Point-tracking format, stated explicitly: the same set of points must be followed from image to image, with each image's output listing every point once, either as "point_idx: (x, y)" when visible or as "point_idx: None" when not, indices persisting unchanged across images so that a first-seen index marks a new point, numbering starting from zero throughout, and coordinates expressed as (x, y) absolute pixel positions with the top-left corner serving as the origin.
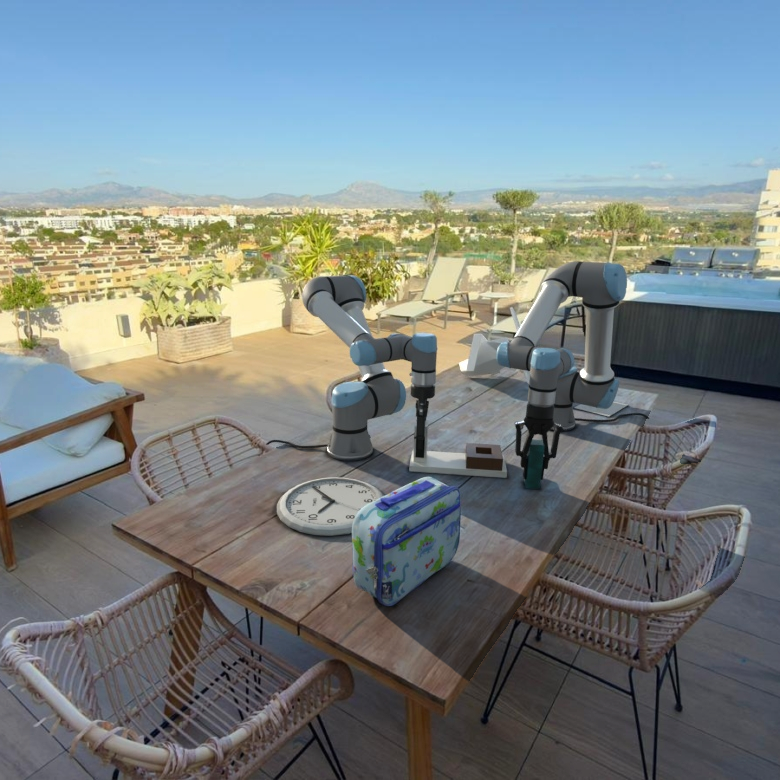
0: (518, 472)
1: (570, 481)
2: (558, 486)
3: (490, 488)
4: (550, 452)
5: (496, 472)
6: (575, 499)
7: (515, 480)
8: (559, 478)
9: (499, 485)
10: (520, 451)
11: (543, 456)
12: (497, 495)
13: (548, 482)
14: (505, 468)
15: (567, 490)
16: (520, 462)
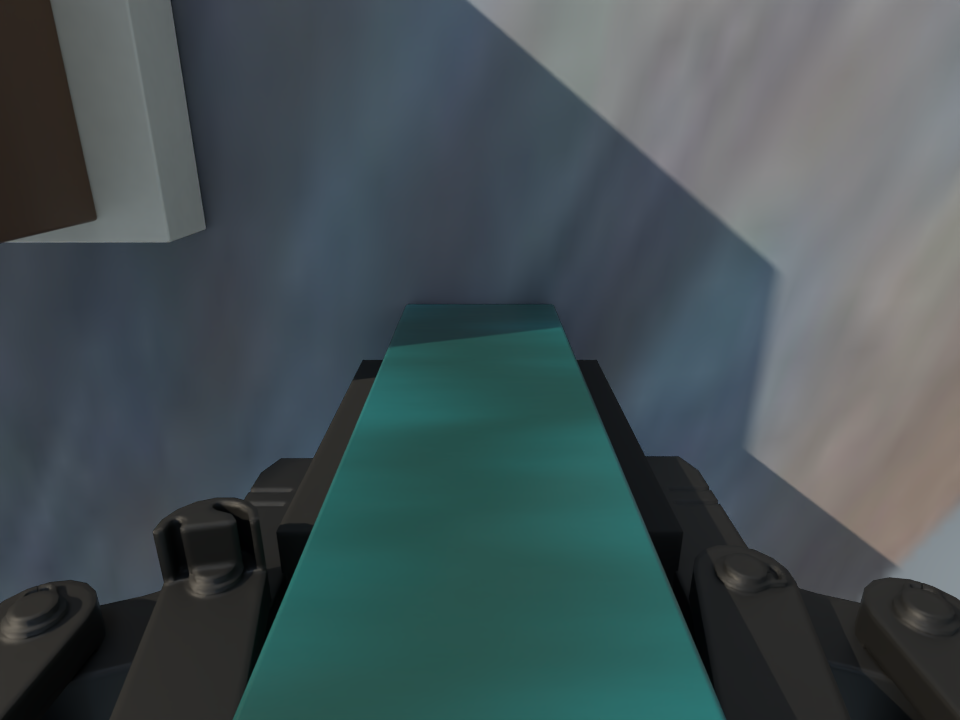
0: (352, 31)
1: (955, 201)
2: (763, 345)
3: (69, 481)
4: (869, 681)
5: (40, 241)
6: (831, 562)
7: (310, 274)
8: (852, 136)
9: (146, 411)
10: (108, 717)
11: (676, 539)
12: (151, 587)
13: (680, 267)
14: (135, 128)
15: (826, 415)
16: (251, 488)
